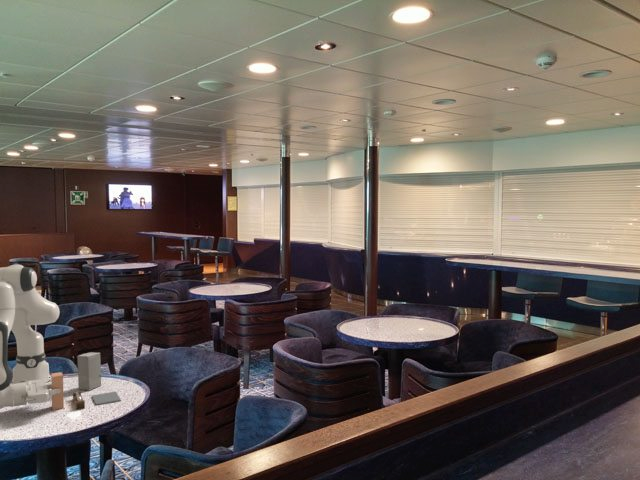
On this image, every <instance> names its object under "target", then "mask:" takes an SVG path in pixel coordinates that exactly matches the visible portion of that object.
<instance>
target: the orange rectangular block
mask: <svg viewBox="0 0 640 480" xmlns="http://www.w3.org/2000/svg"><path fill="white" fill-rule="evenodd" d="M50 375H51V381H50V382H51V383H50V384H51V386H52V389H51V390H54V389H55V388H60V389H61V392H60V393H57V394H54V395H52V396H51V408H52V411H56V410H63V409H64V407H65V406H64V405H65V404H64V375H63V372H61V371H60V372H53V373H50Z"/></svg>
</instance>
